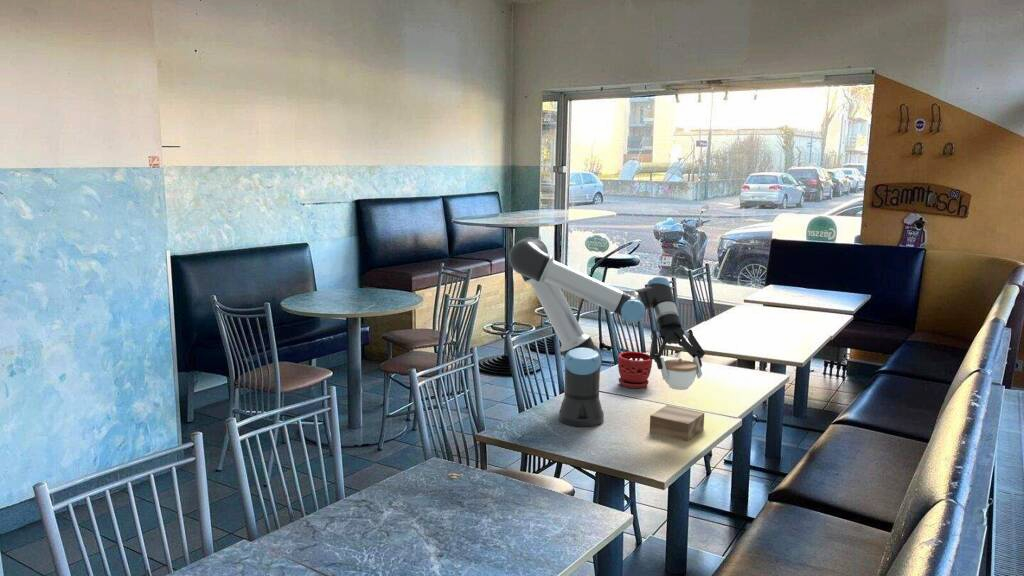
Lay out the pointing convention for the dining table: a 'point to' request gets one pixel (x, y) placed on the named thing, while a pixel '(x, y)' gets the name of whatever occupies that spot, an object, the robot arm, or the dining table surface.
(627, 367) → the plant pot
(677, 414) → the walnut block
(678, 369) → the lidded jar
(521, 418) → the dining table surface
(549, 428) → the dining table surface
